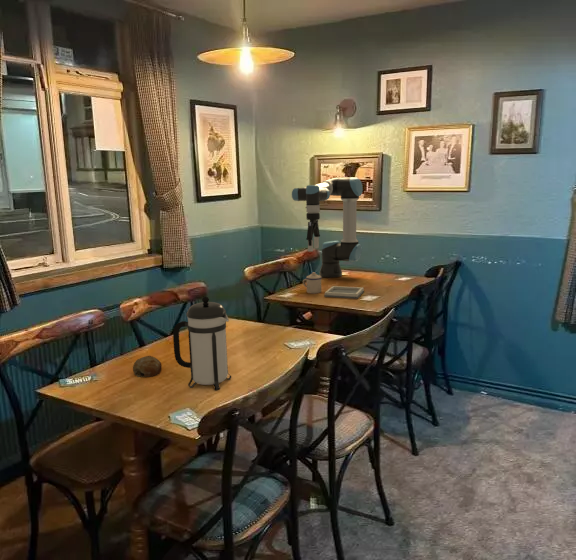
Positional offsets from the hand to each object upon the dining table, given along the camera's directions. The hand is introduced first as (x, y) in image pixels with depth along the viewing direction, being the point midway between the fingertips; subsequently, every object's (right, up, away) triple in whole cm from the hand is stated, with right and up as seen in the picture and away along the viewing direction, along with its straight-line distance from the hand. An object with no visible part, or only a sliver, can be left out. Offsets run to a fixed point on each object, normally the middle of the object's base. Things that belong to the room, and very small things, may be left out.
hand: (313, 249), depth 305 cm
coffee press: (-42, -52, -127) cm, 143 cm away
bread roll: (-65, -51, -115) cm, 142 cm away
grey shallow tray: (+18, -26, -3) cm, 31 cm away
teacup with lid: (-1, -25, +5) cm, 25 cm away
